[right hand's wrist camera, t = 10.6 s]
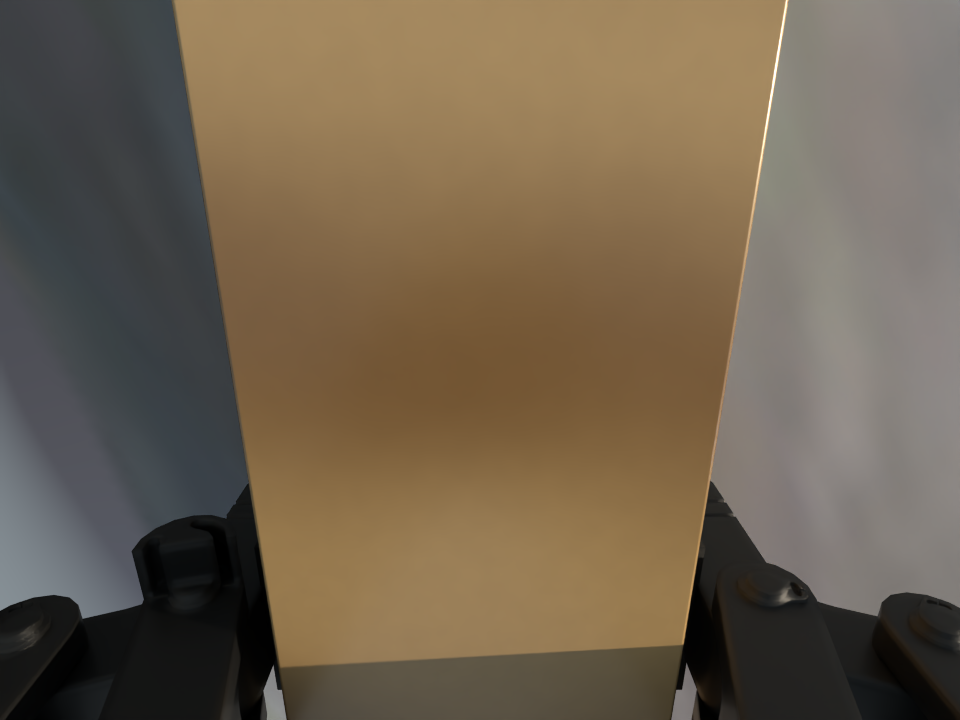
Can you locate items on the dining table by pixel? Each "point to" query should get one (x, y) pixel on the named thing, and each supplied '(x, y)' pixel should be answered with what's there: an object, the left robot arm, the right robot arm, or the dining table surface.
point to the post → (479, 332)
